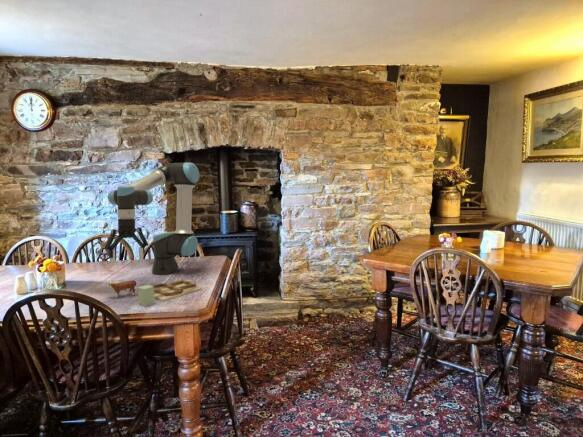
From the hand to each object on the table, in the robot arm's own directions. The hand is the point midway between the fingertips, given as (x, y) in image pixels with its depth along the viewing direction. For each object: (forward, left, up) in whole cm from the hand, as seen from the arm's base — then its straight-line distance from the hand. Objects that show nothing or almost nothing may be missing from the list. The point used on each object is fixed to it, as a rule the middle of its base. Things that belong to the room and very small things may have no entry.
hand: (127, 262), depth 188 cm
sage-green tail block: (+16, 0, -17) cm, 23 cm away
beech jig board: (+9, +17, -17) cm, 26 cm away
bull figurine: (-4, -2, -17) cm, 18 cm away
